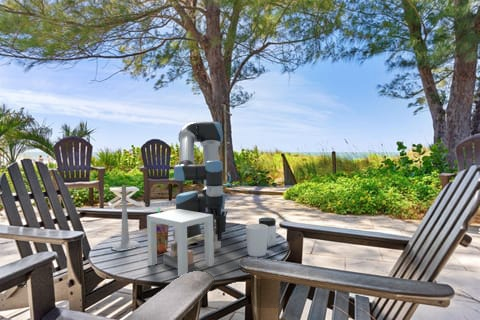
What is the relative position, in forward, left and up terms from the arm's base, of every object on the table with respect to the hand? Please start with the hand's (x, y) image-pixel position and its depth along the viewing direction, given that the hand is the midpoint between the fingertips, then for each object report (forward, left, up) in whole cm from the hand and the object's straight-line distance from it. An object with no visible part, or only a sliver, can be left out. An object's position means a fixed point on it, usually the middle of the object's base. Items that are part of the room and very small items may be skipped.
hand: (215, 246), depth 135 cm
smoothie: (-21, -15, -2) cm, 25 cm away
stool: (0, -20, -2) cm, 20 cm away
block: (0, -18, -2) cm, 18 cm away
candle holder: (+16, +9, -2) cm, 19 cm away
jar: (+12, +23, -2) cm, 26 cm away
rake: (0, -11, -2) cm, 11 cm away
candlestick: (-40, -21, -2) cm, 45 cm away
